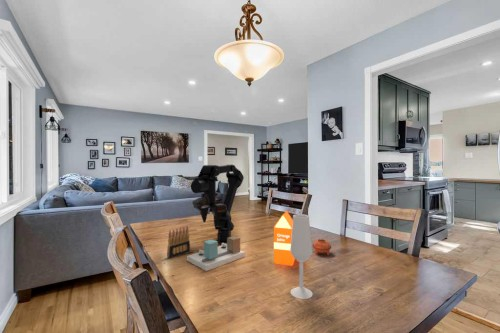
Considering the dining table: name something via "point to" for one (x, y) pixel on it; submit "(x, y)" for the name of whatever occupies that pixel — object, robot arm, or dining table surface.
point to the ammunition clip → (178, 243)
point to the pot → (322, 246)
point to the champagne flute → (301, 250)
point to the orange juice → (283, 240)
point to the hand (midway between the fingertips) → (209, 223)
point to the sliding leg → (210, 249)
